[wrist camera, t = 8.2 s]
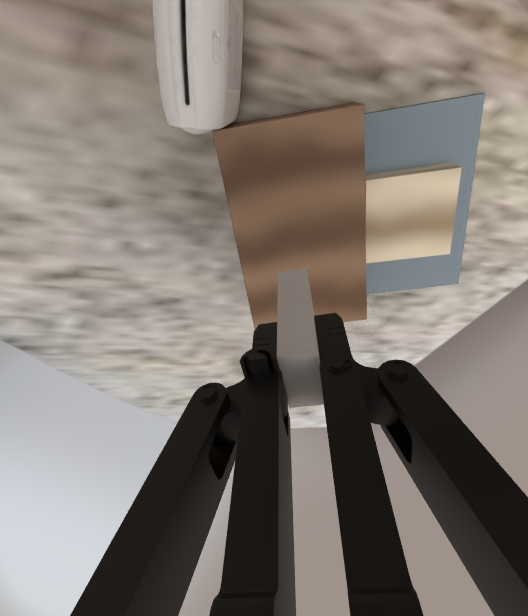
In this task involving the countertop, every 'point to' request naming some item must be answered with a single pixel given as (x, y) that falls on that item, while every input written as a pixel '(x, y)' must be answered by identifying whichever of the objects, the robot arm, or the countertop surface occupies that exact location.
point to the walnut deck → (299, 206)
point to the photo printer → (199, 61)
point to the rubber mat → (420, 152)
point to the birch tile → (410, 212)
